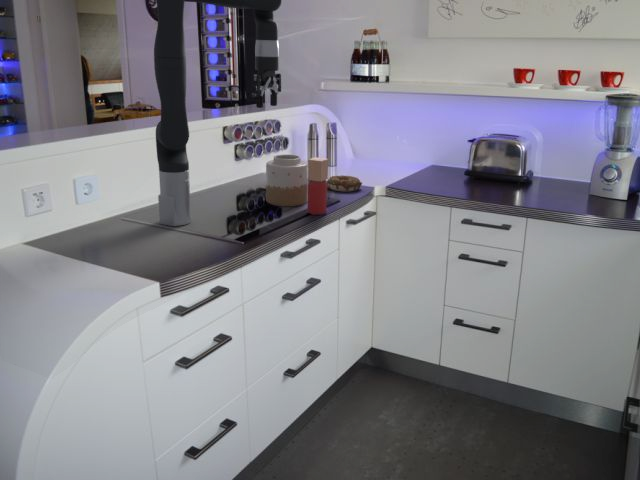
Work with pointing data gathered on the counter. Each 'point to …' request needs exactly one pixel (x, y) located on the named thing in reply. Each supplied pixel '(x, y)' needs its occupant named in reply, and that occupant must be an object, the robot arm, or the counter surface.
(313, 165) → the block
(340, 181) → the donut
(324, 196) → the beer can
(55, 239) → the counter surface
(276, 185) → the vase
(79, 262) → the counter surface
